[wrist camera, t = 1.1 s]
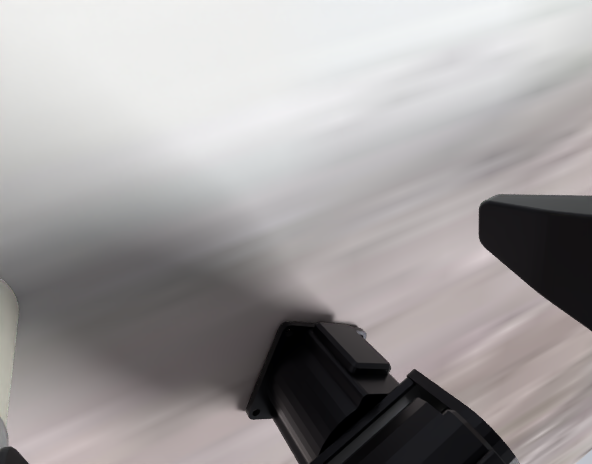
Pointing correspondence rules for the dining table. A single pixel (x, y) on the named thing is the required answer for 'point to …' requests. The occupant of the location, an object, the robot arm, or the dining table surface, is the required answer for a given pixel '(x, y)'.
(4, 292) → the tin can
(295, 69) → the dining table surface
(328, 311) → the dining table surface
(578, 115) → the dining table surface
